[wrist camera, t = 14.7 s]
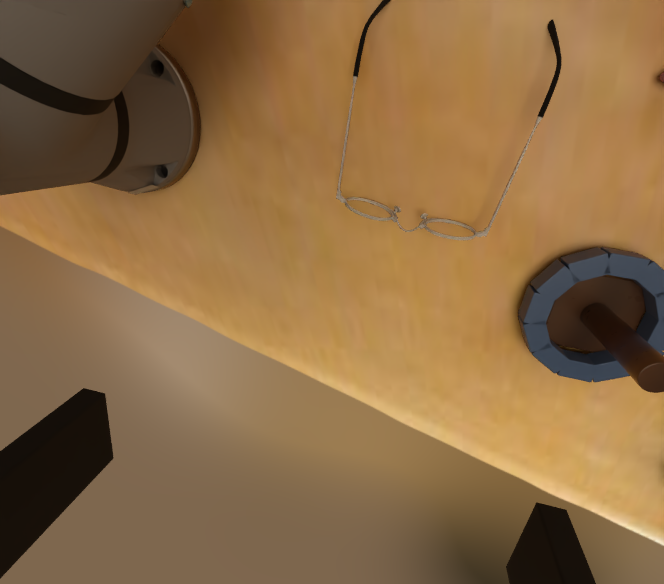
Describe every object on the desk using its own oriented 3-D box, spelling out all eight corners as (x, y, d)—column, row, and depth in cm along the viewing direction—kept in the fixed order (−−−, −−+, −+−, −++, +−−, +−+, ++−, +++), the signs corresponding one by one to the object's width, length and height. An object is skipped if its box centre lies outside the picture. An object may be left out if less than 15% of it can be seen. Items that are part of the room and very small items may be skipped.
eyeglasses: (332, 203, 40) (321, 212, 36) (377, -13, 33) (370, -37, 28) (485, 242, 39) (494, 256, 34) (569, 24, 31) (595, 5, 27)
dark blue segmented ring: (503, 353, 42) (507, 364, 40) (545, 236, 37) (553, 242, 35) (632, 381, 40) (644, 394, 38) (696, 263, 35) (713, 270, 33)
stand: (536, 336, 41) (579, 408, 30) (563, 266, 38) (622, 318, 27) (617, 352, 40) (691, 433, 29) (651, 281, 37) (749, 342, 26)
